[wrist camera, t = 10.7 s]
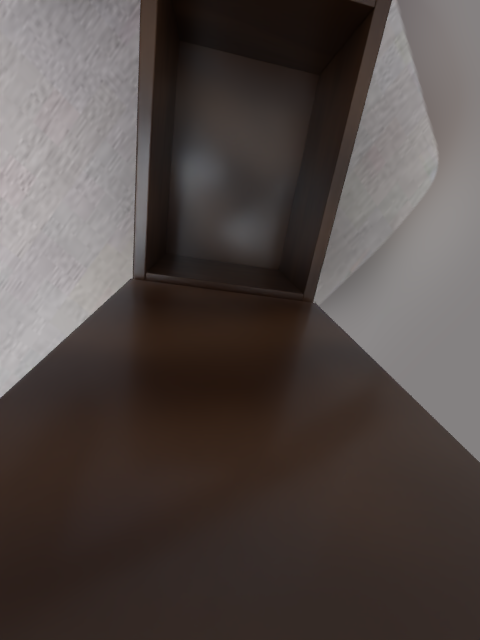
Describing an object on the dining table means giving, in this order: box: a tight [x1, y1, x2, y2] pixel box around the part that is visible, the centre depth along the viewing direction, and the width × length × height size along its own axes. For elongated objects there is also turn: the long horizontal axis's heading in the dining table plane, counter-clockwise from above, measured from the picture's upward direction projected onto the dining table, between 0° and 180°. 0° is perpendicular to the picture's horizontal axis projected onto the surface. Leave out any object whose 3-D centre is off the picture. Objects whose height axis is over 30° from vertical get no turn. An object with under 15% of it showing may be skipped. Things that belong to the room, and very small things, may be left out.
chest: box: [133, 0, 392, 303], centre depth 20 cm, size 17×12×9 cm
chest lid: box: [0, 279, 480, 640], centre depth 11 cm, size 17×12×5 cm
